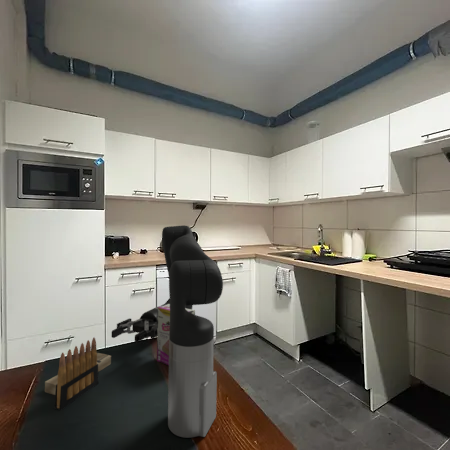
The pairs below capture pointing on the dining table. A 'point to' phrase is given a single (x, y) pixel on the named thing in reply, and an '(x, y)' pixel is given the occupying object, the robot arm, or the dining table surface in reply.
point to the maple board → (102, 362)
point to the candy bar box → (164, 333)
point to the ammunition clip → (76, 374)
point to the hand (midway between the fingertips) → (123, 336)
